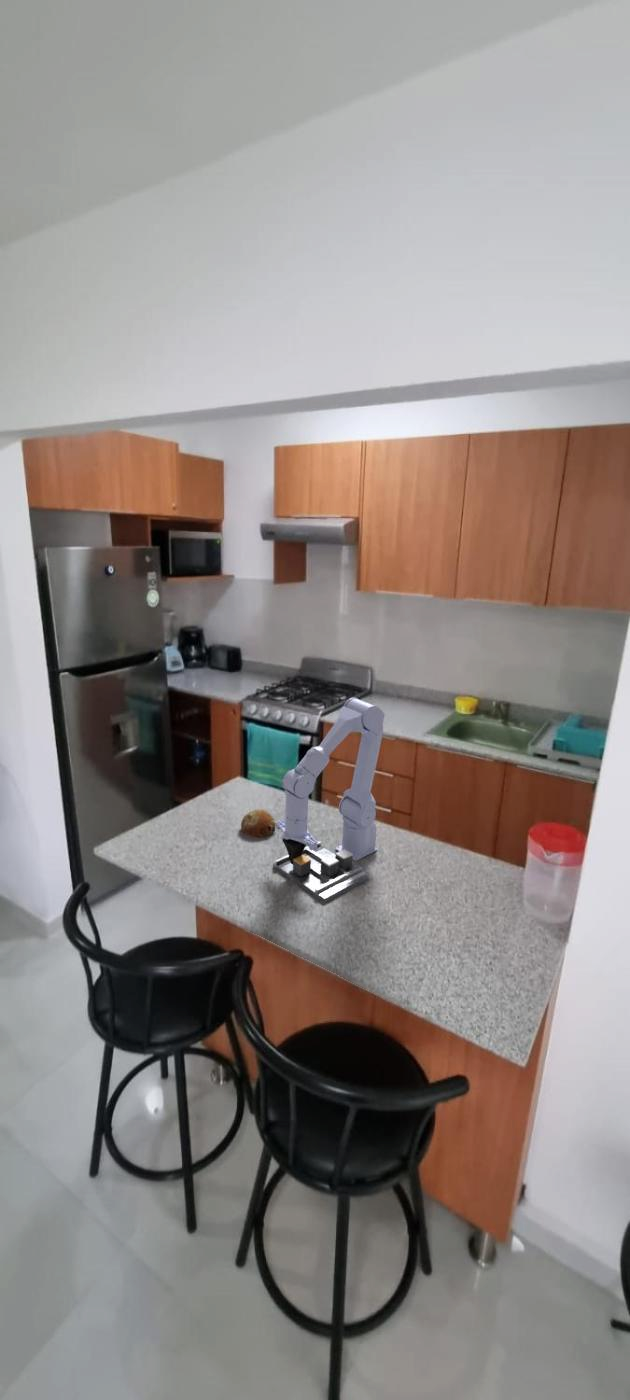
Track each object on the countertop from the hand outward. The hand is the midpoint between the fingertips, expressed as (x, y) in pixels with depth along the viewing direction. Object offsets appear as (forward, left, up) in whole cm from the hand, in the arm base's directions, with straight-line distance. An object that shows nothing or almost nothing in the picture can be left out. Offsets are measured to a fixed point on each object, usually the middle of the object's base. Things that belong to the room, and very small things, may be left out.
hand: (294, 862), depth 147 cm
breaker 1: (-5, +8, -1) cm, 9 cm away
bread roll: (-6, -24, -3) cm, 25 cm away
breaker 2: (-10, +8, -1) cm, 13 cm away
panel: (-5, +5, -3) cm, 7 cm away
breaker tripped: (0, +3, -1) cm, 3 cm away
